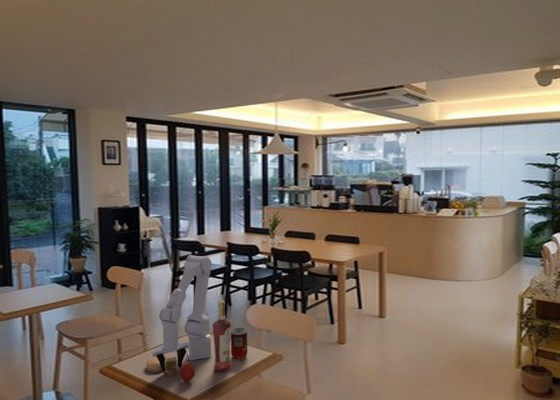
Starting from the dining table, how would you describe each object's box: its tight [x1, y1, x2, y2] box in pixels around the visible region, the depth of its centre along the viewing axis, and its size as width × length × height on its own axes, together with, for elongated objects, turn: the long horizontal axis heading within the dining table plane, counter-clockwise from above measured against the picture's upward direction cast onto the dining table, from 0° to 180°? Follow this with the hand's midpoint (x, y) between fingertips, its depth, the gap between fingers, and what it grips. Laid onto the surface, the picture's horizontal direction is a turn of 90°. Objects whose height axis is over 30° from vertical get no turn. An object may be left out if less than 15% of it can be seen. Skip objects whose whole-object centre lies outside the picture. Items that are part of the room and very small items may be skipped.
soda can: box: [230, 327, 248, 361], centre depth 177 cm, size 7×7×12 cm
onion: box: [178, 361, 196, 383], centre depth 156 cm, size 6×6×8 cm
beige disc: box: [145, 356, 168, 373], centre depth 169 cm, size 9×9×2 cm
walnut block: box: [165, 356, 178, 377], centre depth 164 cm, size 4×4×6 cm
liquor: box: [212, 300, 232, 372], centre depth 166 cm, size 7×7×28 cm
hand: (171, 369), depth 164 cm, fingers open, 6 cm apart
